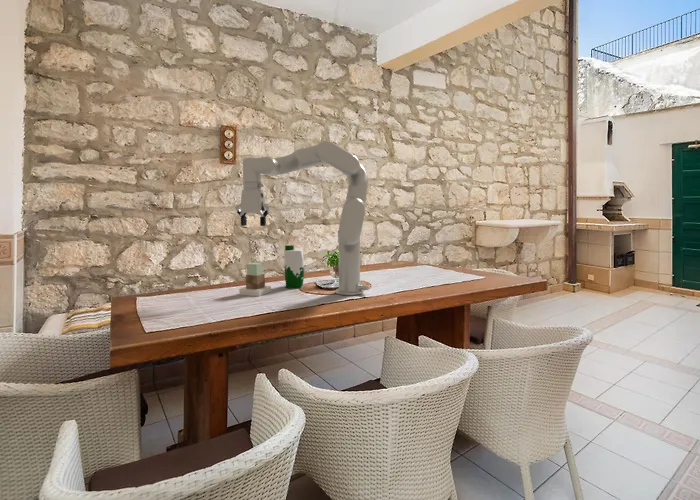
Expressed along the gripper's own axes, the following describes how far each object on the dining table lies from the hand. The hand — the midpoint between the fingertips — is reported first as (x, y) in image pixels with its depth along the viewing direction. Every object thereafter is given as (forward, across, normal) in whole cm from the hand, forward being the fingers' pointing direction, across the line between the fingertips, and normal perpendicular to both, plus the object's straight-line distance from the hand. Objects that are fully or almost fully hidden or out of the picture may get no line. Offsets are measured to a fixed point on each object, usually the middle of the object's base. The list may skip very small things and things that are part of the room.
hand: (253, 225), depth 180 cm
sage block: (+22, 0, 0) cm, 22 cm away
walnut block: (+28, 0, 0) cm, 28 cm away
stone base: (+30, 0, 0) cm, 30 cm away
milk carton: (+31, -10, -19) cm, 37 cm away
